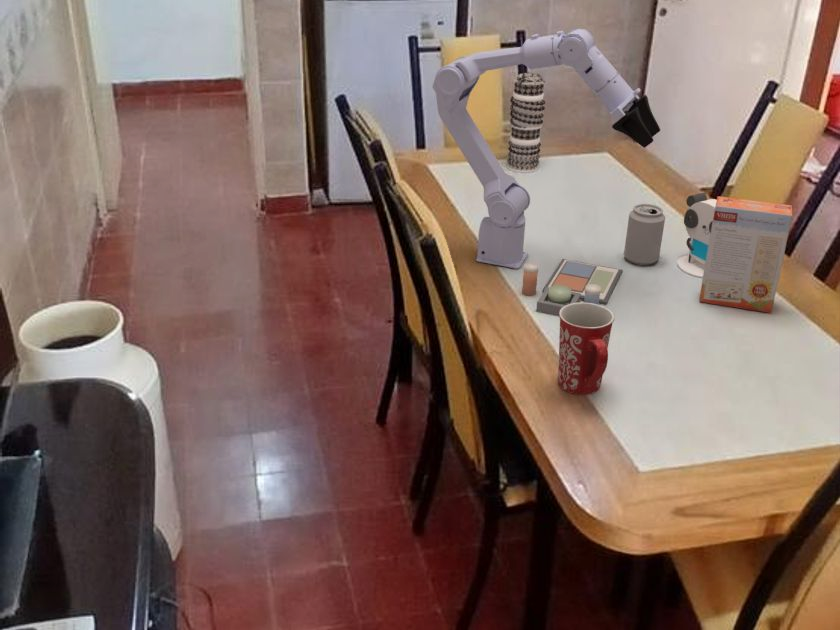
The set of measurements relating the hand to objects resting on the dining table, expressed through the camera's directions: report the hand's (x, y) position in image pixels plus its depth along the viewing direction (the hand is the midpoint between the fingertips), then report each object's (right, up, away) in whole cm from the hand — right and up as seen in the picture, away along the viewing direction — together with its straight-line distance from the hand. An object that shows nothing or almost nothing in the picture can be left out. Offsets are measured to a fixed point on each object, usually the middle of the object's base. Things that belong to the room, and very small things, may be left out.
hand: (652, 139), depth 180 cm
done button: (-17, -30, +5) cm, 35 cm away
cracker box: (+19, -31, +9) cm, 37 cm away
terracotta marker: (-22, -29, +11) cm, 38 cm away
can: (+4, -22, +26) cm, 34 cm away
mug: (-17, -46, -20) cm, 53 cm away
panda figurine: (+17, -23, +23) cm, 37 cm away
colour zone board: (-11, -27, +16) cm, 33 cm away
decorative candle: (-17, +6, +75) cm, 77 cm away
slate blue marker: (-11, -34, +3) cm, 36 cm away
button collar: (-17, -32, +6) cm, 37 cm away
